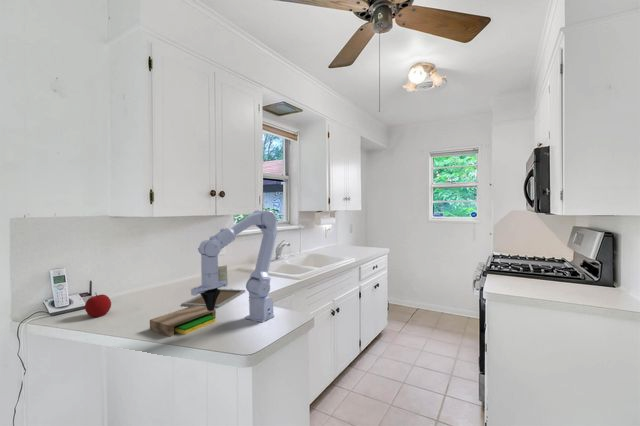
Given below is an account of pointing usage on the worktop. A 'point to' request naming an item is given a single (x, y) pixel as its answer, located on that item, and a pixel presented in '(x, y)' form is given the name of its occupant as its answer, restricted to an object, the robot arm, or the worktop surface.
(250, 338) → the worktop surface
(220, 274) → the skincare box
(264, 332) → the worktop surface
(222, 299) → the grey flat tray
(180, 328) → the dish sponge
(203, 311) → the low shelf
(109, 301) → the apple
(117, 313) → the worktop surface
